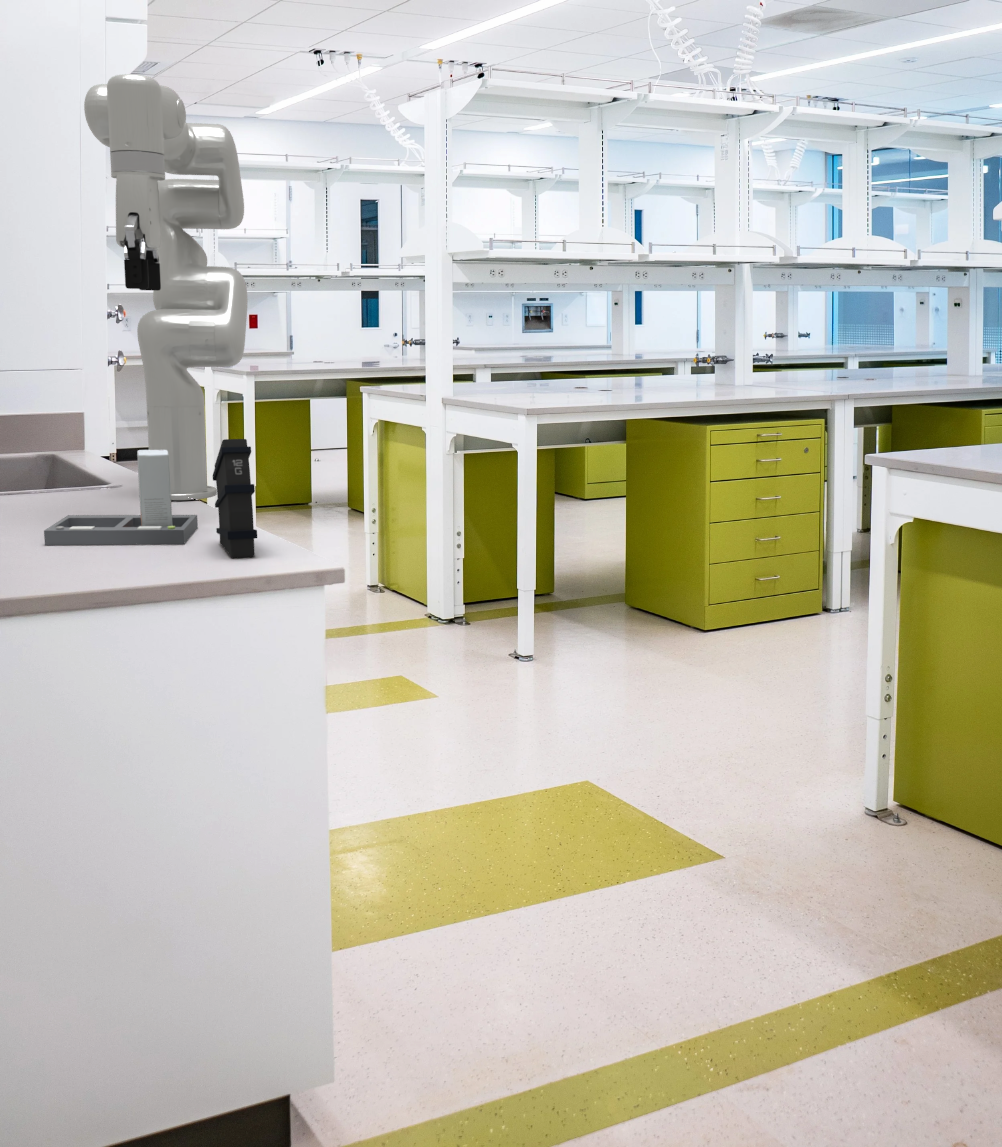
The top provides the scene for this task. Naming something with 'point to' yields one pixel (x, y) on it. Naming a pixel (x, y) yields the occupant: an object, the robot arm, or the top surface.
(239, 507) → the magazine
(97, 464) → the top surface
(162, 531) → the socket panel
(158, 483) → the skincare box
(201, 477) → the robot arm
